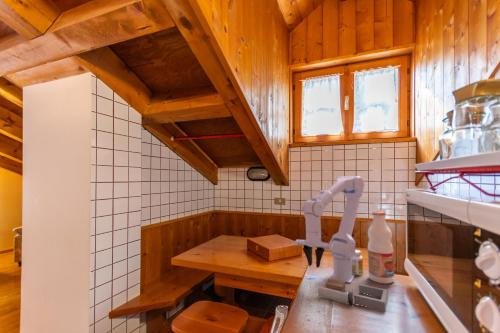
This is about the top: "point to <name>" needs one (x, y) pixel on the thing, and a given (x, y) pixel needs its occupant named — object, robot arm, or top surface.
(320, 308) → the top surface
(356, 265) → the supplement bottle
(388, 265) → the fruit juice
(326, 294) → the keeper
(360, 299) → the cradle
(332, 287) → the link block
